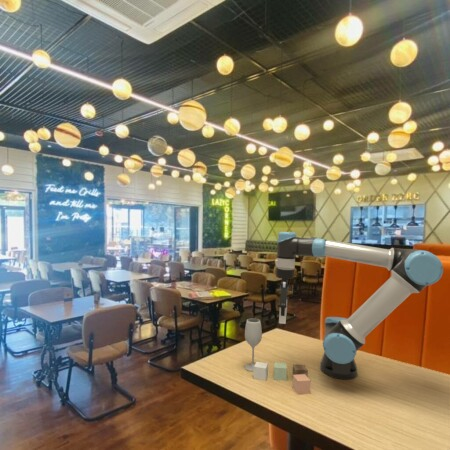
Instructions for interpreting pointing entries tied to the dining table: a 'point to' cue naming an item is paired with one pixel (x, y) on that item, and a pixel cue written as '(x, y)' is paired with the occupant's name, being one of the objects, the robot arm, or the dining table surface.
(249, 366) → the wineglass
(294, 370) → the walnut cube
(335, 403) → the dining table surface
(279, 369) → the sage cube
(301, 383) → the terracotta cube
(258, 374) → the white cube
